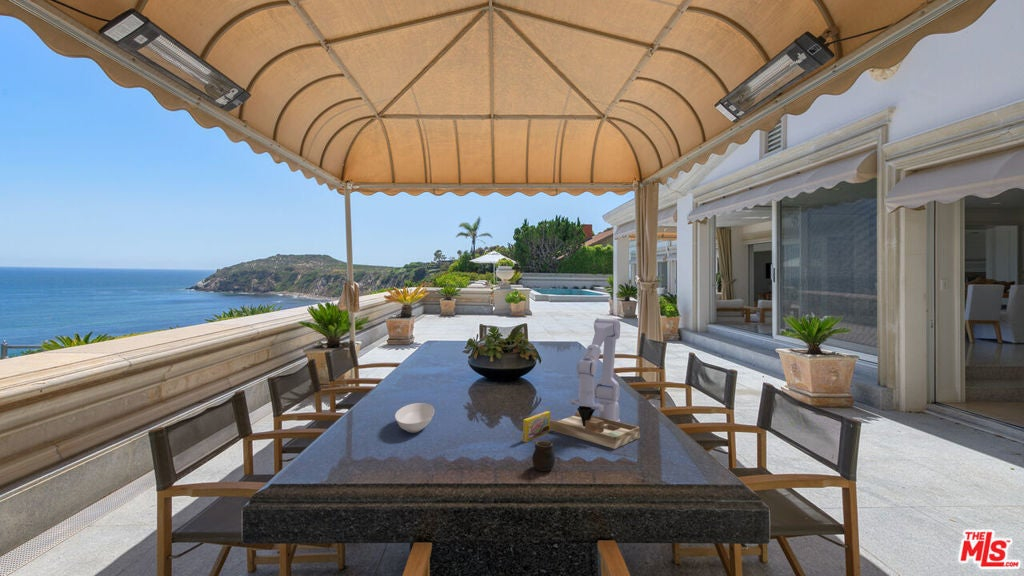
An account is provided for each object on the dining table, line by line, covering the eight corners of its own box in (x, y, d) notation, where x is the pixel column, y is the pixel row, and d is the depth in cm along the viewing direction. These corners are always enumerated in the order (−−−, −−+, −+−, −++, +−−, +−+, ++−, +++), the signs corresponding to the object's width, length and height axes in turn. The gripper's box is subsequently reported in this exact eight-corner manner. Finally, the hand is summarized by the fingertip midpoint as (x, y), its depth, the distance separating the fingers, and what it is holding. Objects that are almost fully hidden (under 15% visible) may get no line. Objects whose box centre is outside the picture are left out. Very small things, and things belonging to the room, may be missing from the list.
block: (592, 428, 179) (592, 418, 179) (603, 431, 176) (603, 420, 176) (585, 431, 176) (585, 420, 176) (596, 434, 172) (596, 423, 172)
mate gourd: (540, 462, 150) (541, 431, 150) (560, 468, 146) (561, 437, 146) (527, 468, 145) (528, 437, 145) (546, 475, 140) (547, 442, 140)
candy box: (526, 443, 169) (527, 420, 169) (521, 441, 171) (522, 419, 171) (550, 432, 182) (550, 411, 182) (545, 431, 183) (546, 410, 183)
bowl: (429, 439, 171) (430, 423, 171) (388, 440, 170) (388, 423, 170) (437, 417, 201) (437, 403, 201) (402, 417, 200) (402, 403, 200)
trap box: (575, 420, 198) (576, 411, 198) (639, 437, 177) (640, 427, 177) (549, 429, 185) (549, 419, 185) (614, 448, 164) (615, 437, 164)
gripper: (565, 389, 181) (564, 424, 181) (596, 395, 171) (595, 432, 171) (575, 386, 186) (575, 420, 186) (606, 393, 176) (606, 428, 176)
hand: (585, 426), depth 179 cm, fingers closed
